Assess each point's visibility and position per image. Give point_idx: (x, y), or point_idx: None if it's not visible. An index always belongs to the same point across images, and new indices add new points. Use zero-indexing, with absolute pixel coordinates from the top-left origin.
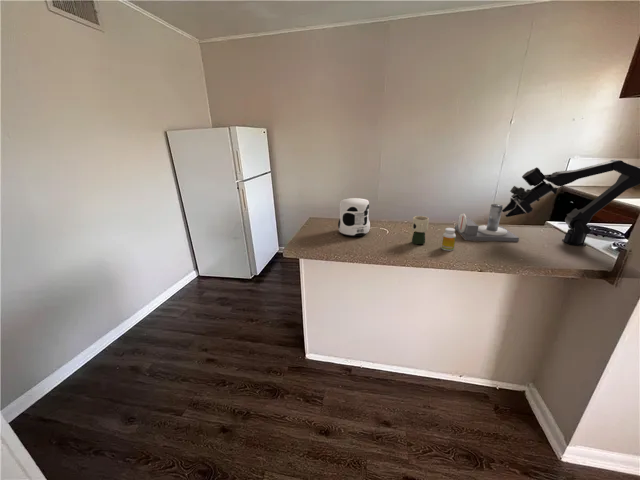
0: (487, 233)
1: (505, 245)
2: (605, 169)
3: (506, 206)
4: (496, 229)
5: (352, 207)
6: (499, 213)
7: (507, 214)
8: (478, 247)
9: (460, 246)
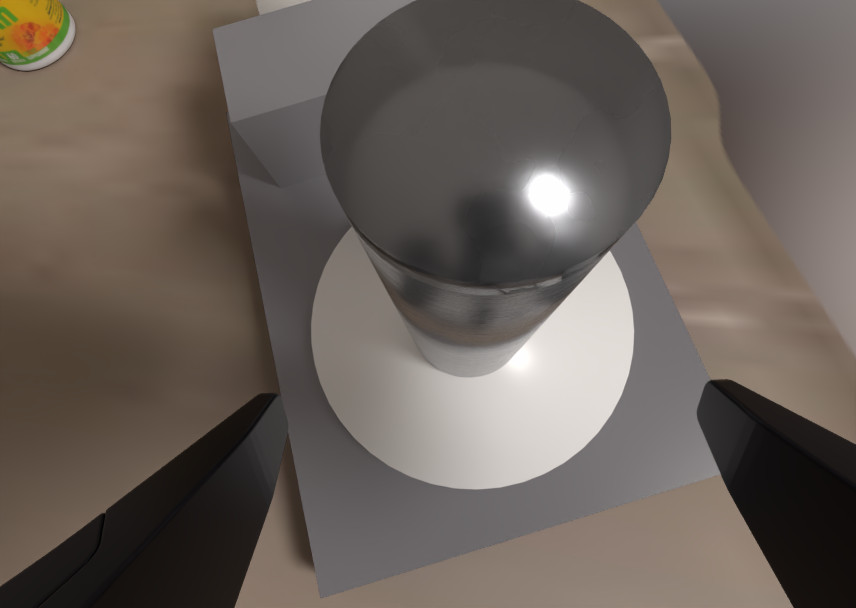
0: (323, 271)
1: (188, 431)
2: None
3: (849, 473)
4: (426, 357)
5: None
6: (387, 290)
7: (229, 426)
8: (97, 219)
9: (96, 108)
